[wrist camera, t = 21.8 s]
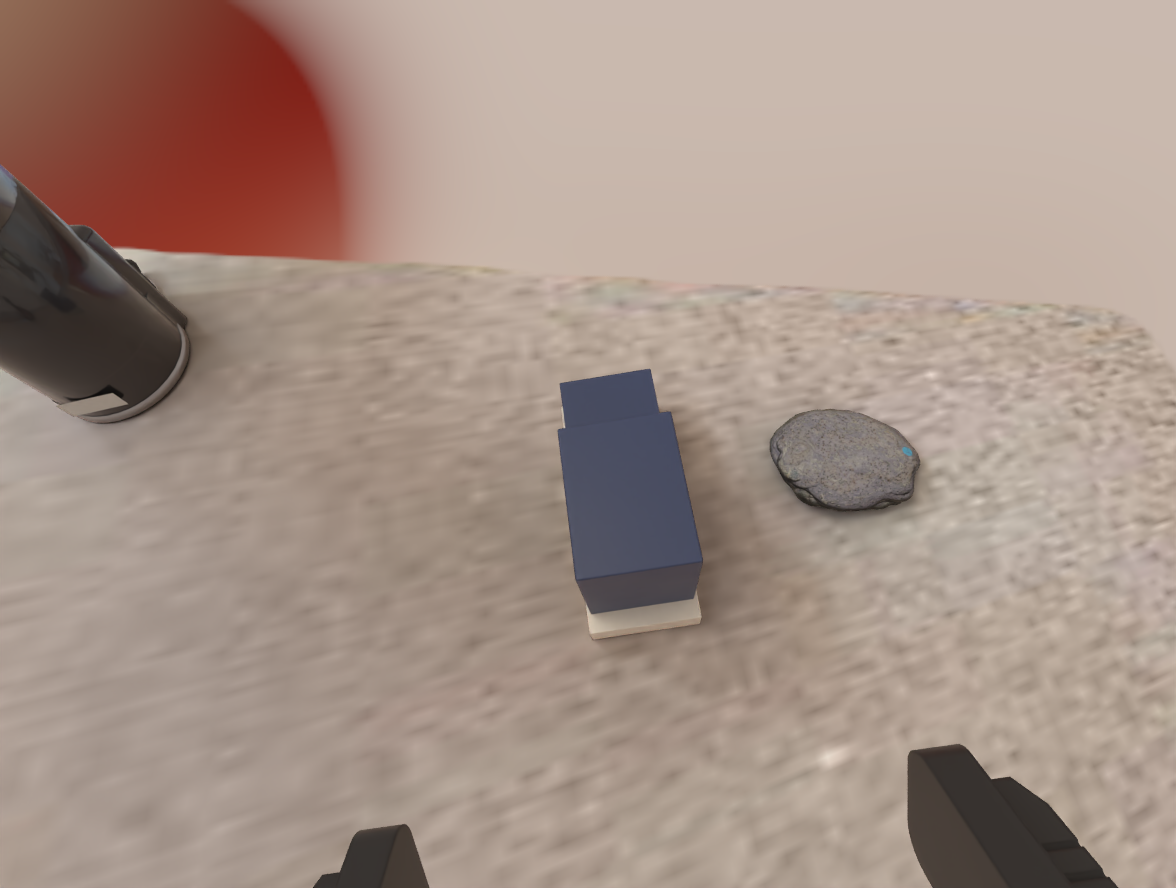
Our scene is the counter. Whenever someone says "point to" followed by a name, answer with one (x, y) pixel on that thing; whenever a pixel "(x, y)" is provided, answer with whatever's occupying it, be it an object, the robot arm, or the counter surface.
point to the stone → (844, 460)
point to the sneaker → (628, 507)
